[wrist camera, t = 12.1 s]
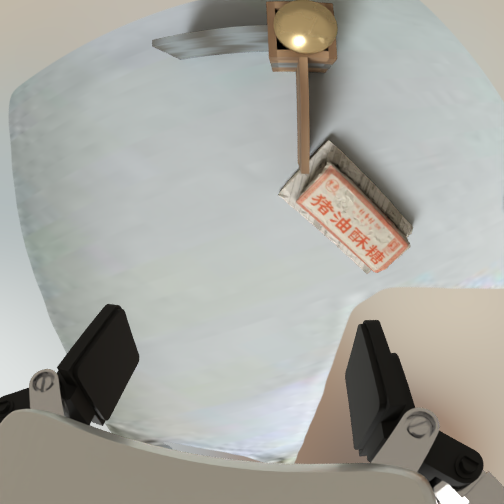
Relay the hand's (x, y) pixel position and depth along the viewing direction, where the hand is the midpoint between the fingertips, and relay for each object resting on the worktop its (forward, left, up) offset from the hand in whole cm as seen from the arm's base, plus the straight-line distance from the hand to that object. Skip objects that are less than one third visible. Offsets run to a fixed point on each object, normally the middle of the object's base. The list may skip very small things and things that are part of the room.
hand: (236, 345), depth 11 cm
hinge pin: (-4, -18, -30) cm, 35 cm away
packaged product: (-11, +4, -31) cm, 33 cm away
